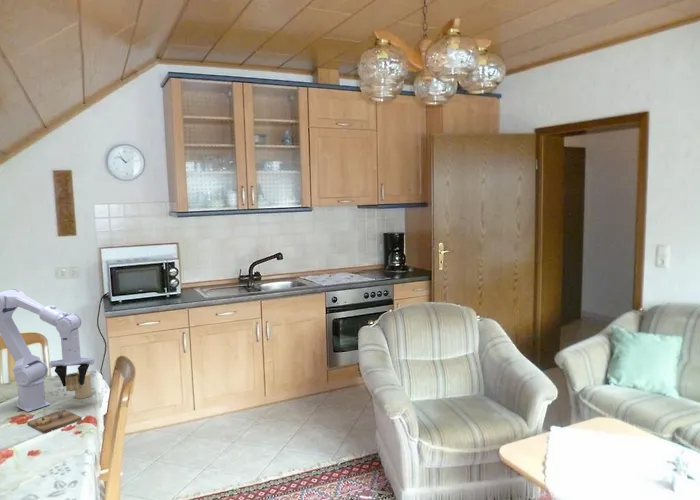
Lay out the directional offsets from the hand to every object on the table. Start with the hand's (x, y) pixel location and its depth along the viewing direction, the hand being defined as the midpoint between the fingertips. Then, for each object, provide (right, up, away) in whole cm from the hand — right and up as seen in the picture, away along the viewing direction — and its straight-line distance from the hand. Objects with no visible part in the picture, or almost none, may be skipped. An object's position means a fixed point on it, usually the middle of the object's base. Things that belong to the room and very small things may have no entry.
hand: (73, 384), depth 183 cm
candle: (-2, -8, +11) cm, 14 cm away
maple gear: (0, -1, 0) cm, 1 cm away
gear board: (0, -10, -12) cm, 15 cm away
